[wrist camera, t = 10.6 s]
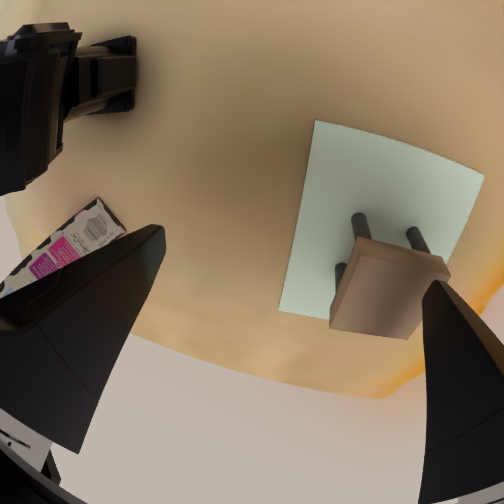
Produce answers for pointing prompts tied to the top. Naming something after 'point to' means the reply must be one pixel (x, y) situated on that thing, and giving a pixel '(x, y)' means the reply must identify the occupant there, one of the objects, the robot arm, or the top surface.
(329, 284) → the felt mat
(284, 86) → the top surface
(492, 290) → the top surface
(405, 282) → the walnut stool
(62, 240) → the candy bar box
